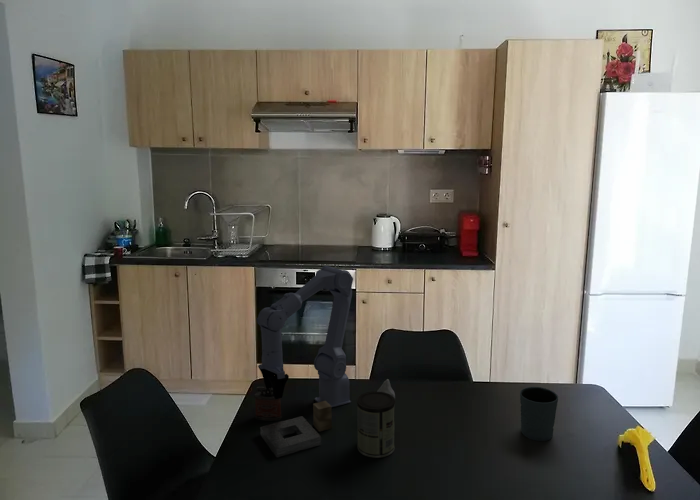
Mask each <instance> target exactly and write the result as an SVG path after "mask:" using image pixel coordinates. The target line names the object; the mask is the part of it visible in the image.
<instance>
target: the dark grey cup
mask: <svg viewBox="0 0 700 500" xmlns="http://www.w3.org/2000/svg"><path fill="white" fill-rule="evenodd" d="M519 401H520V403H519V404H520V430H521V433H522V434H523V436H524V437H526V438H528V439H529V440H533V441H536V442H537V441H538V442H545V441H546V442H547V441H549V440H551V439H552V438H553V434H554V427H555V420H556V415H557V408H558V401H559V396H558V394H557V393H556V392H554V391H553V390H551V389H549V388H546V387H541V386H540V387H539V386H528V387H524V388H522V389H521V390H520V391H519Z"/></svg>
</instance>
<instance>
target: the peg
mask: <svg viewBox="0 0 700 500" xmlns="http://www.w3.org/2000/svg"><path fill="white" fill-rule="evenodd" d="M312 406H313V407H312V410H313V411H312V412H313V414H312V415H313V417H312V418H313V427H314V429H315V430H316V431H317V432H323V431H326V430H327V431H328V430H331V429H333V426H332V425H333V424H332V417H333V416H332V415H333V414H332V408H331V405H330V404H329V403H327V402H326V401H322V402H315V403H313V404H312Z"/></svg>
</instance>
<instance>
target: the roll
mask: <svg viewBox="0 0 700 500" xmlns="http://www.w3.org/2000/svg"><path fill="white" fill-rule="evenodd" d="M390 382H391V381H390V379H388V378H387V379H386V380H384V381H383V383H382V384H381V385H380V387H379V388H378V389H377V392H384V393H388V394H390V395H392V396H393V397H394V398H395V399H396V394H395V393H396V392H395V391H394V390H393V388H392V386H391V383H390Z"/></svg>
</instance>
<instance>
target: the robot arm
mask: <svg viewBox="0 0 700 500" xmlns="http://www.w3.org/2000/svg"><path fill="white" fill-rule="evenodd" d="M353 281H354V277H353V276H352V274H351V273H350V271H348V270H346V269H340V268H337V267H332V266H329V265H324V266H322V267H321V268H320V269H319V270H317V271H316V272H315V275H314V276H313V277H312V278H311V279H310V280H308V281H307V282H306V283H305V284H304V285H303V286H301V287H300V288H299V289H298V290H297V291H295V292H287V293H285V294H283V297H281V298H280V299H279V300H277V301H276V302H275V303H272V304H271V306H270V307H264V308H262V309H261V310H260V311H259V312H258V315H257V317H256V323H257V325H259V327H260V332H261V353H262V355H261V363H260V364H258V366H257V368H258V369H259V370H260V373H261V376H262V378H263V382H264V383H263V384H264V387H266V388H267V389H268V388H273V394H274V398H275V399H279V398H280V399H283V395H284V392H285V391H284V390H285V387H286V384H287V381H288V380H289V377H290V376H289V374H288V373H285V370H284V362H283V342H282V341H283V340H282V339H283V338H282V329H283V328H284V326H285V324H286V322H287V320H288V319H289V318H290V317H291V316H293V315H294V314H295V313H296V312H297V311H299V310H300V309H302V307H303V306H302V305H303V302H304V301H306V300H307V299H309V298H310V297H312V296H313V295H315V294H316V293H318V292H320V291H321V290H329V292H330V293H331V295H332V296H333V301H332V307H331V312H330V317H329V322H328V327H327V331H326V338H325V343H324V345H323V346H321V347H319V348H318V351H317V354H316V356H315V357H314V361H313V367H314V369H315V370H316V372H317V375H318V391H319V392H318V395H319V396H318V397H315V398H314V400H315V402H316V403H318V402H322V401H326V402H327V403H329V404H330V405H331V409H332V408H335V407H339V406H343V405H346V404H350V403H351V402H352V400H350V398H351V397H350V396H351V395H350V394H351V391H350V378H349V376H348V374H347V373H346V371H347V362H346V361H347V356H346V354H345V352H344V350H343V349H342V348H343V343H344V338H345V333H346V328H347V323H348V318H349V313H350V308H351V307H350V306H351V302H352V297H353V287H352V286H353Z"/></svg>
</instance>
